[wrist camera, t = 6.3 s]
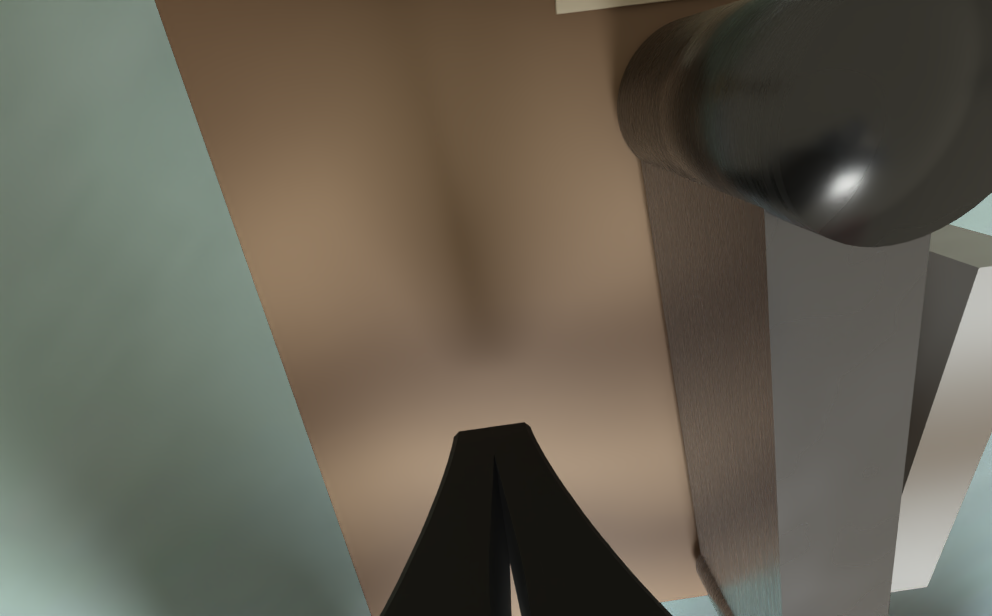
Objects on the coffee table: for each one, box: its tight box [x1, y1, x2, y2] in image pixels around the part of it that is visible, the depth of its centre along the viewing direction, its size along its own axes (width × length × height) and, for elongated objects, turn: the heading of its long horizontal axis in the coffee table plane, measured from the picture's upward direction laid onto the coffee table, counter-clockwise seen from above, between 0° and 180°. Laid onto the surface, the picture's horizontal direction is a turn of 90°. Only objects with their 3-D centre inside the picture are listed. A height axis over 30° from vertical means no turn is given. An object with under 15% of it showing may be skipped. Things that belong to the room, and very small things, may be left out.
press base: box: [155, 0, 992, 616], centre depth 11 cm, size 18×14×4 cm
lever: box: [617, 0, 992, 616], centre depth 9 cm, size 16×3×5 cm, turn 16°
